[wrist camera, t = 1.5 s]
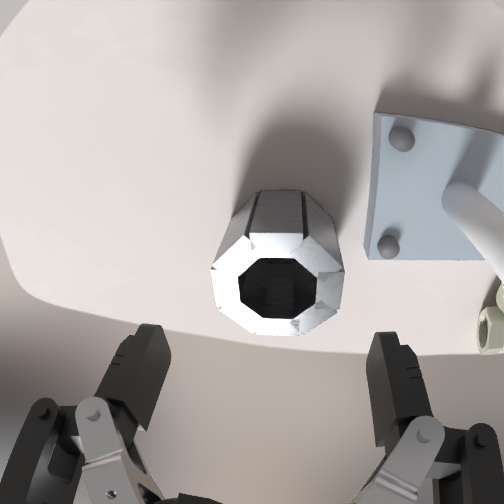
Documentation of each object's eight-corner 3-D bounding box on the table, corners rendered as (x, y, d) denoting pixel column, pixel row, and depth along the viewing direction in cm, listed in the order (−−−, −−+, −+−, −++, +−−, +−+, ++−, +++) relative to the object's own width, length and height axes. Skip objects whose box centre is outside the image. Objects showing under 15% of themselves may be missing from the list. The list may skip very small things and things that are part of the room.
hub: (335, 190, 16) (348, 233, 12) (328, 279, 20) (335, 335, 15) (227, 191, 17) (204, 233, 13) (236, 277, 20) (221, 332, 16)
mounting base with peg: (514, 137, 12) (608, 190, 5) (491, 248, 17) (551, 332, 9) (373, 112, 14) (448, 150, 7) (363, 246, 18) (396, 355, 11)
